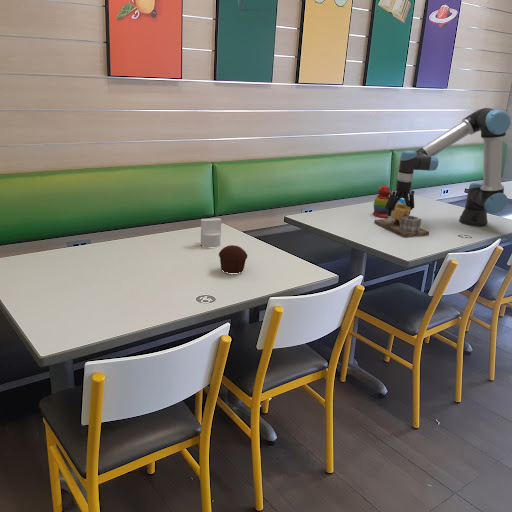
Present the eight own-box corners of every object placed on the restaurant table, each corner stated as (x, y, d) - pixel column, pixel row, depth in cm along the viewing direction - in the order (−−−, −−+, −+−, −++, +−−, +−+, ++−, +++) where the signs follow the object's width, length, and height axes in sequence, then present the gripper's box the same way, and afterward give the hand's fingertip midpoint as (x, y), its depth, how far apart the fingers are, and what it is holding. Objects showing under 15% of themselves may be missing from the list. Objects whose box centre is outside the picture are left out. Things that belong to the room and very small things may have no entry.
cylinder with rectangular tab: (217, 241, 237) (217, 216, 233) (223, 247, 229) (223, 221, 225) (198, 242, 234) (198, 217, 230) (203, 248, 226) (204, 222, 222)
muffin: (252, 271, 204) (254, 247, 200) (233, 278, 196) (234, 253, 192) (231, 263, 211) (232, 240, 208) (212, 269, 203) (212, 245, 200)
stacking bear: (386, 219, 290) (391, 188, 284) (369, 215, 295) (373, 185, 289) (392, 215, 299) (396, 185, 293) (375, 212, 304) (379, 182, 298)
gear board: (397, 221, 287) (400, 206, 284) (428, 235, 264) (431, 218, 261) (374, 223, 281) (376, 207, 278) (403, 237, 258) (406, 220, 255)
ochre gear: (400, 211, 279) (403, 201, 276) (410, 220, 272) (414, 210, 268) (385, 211, 275) (388, 202, 272) (395, 221, 268) (398, 211, 264)
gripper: (417, 178, 274) (410, 218, 281) (382, 179, 265) (376, 220, 273) (426, 181, 267) (418, 222, 275) (391, 182, 259) (384, 224, 266)
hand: (397, 221), depth 274 cm, fingers closed on ochre gear, 10 cm apart
